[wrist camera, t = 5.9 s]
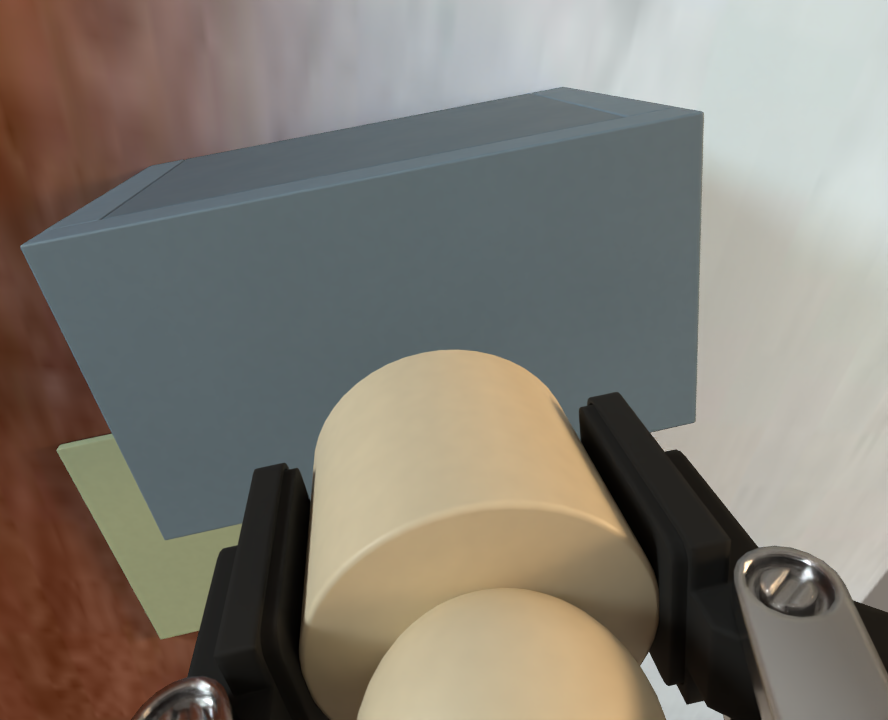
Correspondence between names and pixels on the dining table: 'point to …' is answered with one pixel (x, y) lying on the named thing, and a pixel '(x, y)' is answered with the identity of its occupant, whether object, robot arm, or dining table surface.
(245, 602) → the robot arm
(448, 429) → the bear
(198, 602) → the mat
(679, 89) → the dining table surface
